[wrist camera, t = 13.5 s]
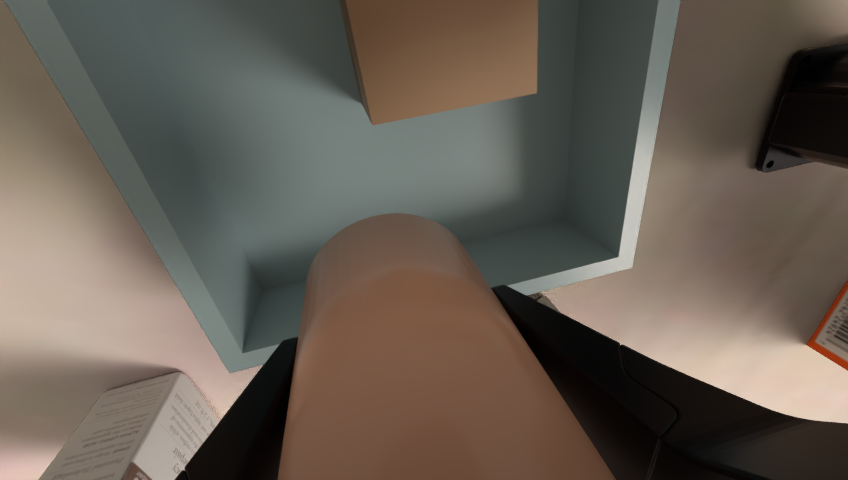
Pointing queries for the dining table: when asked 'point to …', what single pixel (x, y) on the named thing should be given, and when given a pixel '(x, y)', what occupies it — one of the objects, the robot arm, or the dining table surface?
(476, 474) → the terracotta cylinder
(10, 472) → the dining table surface
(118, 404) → the skincare box
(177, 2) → the tote
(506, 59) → the walnut cube
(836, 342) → the pasta box
